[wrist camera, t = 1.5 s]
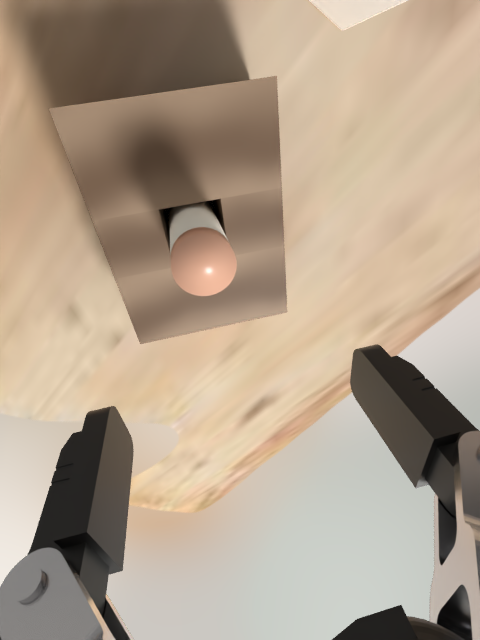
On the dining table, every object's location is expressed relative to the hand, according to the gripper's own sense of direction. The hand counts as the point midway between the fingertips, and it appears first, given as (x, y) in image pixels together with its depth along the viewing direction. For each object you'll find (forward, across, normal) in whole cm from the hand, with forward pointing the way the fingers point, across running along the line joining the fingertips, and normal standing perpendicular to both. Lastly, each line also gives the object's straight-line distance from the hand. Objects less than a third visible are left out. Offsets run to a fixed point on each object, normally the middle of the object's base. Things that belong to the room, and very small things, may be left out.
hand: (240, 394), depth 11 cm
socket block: (+24, 0, 0) cm, 24 cm away
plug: (+24, 0, 0) cm, 24 cm away
